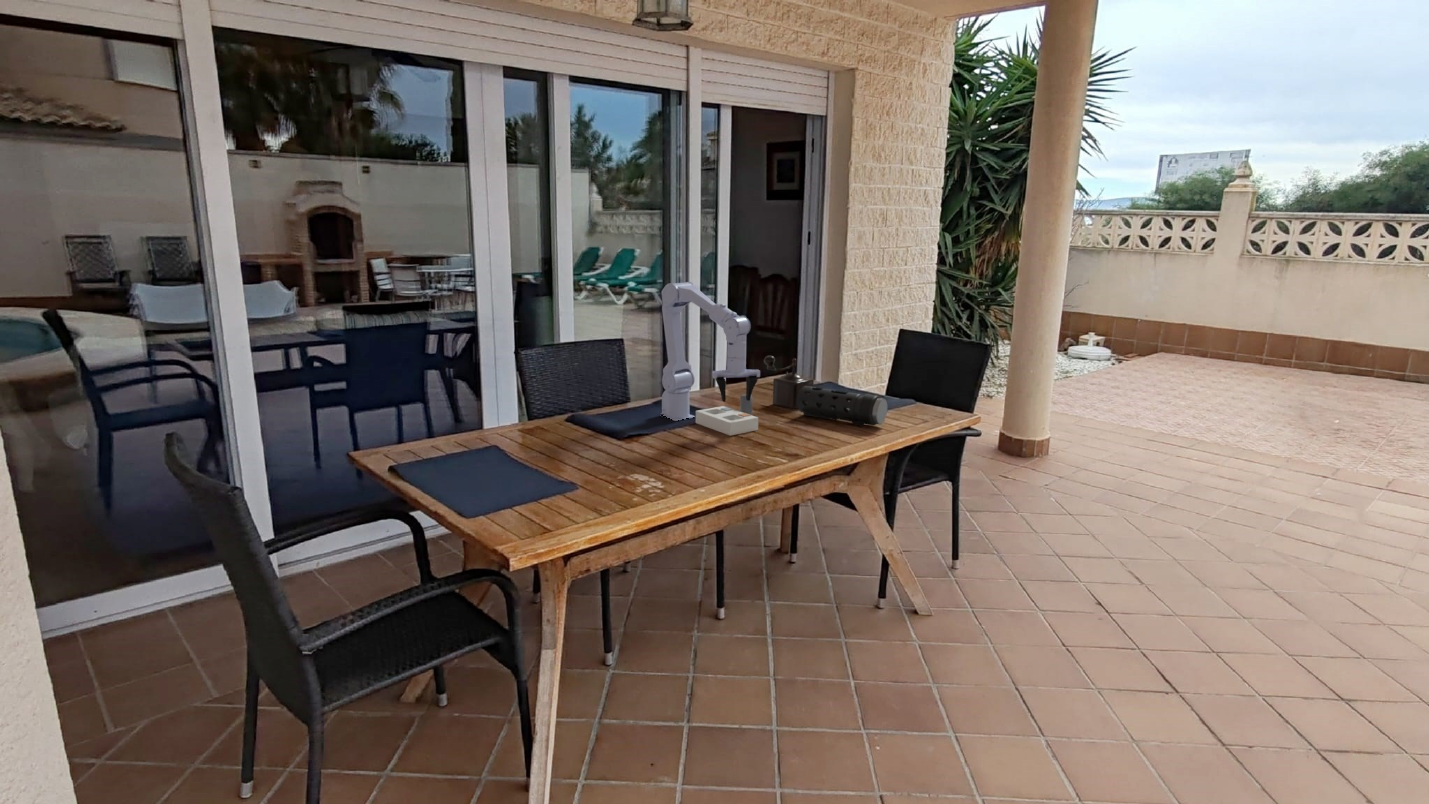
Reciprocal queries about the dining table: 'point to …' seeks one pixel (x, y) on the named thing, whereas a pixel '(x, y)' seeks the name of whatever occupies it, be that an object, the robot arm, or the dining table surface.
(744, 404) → the peg
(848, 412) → the muzzle brake
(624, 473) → the dining table surface
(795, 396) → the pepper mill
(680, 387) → the robot arm
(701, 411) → the socket block
